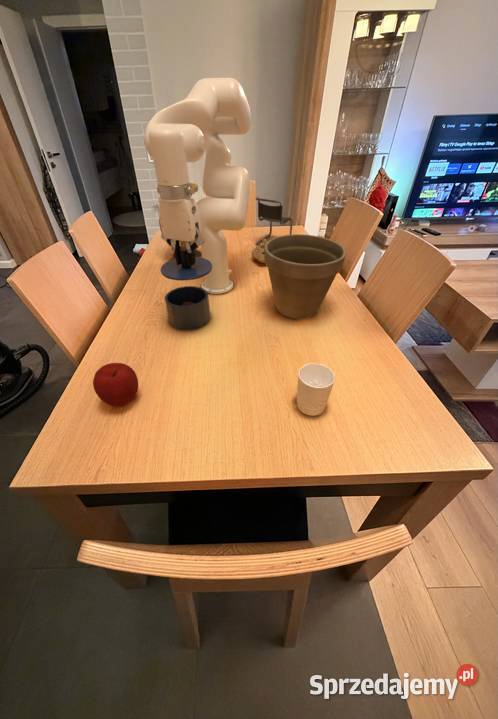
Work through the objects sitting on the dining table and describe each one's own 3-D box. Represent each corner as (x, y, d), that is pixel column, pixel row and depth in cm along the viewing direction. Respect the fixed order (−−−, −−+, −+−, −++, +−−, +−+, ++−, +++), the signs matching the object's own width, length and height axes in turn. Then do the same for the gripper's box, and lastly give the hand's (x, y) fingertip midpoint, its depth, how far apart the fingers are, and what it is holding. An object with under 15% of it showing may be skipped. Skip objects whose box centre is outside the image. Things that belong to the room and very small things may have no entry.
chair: (254, 245, 153) (254, 197, 139) (270, 235, 165) (271, 190, 150) (276, 249, 148) (279, 200, 134) (291, 239, 159) (295, 193, 145)
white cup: (291, 394, 75) (295, 364, 68) (322, 392, 75) (329, 362, 69) (297, 419, 69) (302, 389, 62) (331, 416, 69) (339, 386, 63)
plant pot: (349, 314, 102) (364, 252, 88) (291, 337, 93) (298, 270, 79) (302, 286, 119) (309, 229, 105) (249, 302, 109) (249, 242, 95)
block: (187, 312, 103) (185, 301, 100) (199, 315, 102) (197, 303, 99) (180, 319, 100) (178, 307, 97) (192, 322, 99) (190, 310, 96)
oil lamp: (253, 268, 132) (254, 250, 127) (250, 255, 143) (250, 238, 138) (278, 267, 133) (279, 249, 127) (272, 254, 144) (273, 237, 139)
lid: (179, 257, 93) (175, 236, 89) (221, 264, 89) (219, 243, 85) (150, 277, 83) (145, 254, 79) (196, 286, 79) (193, 263, 75)
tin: (183, 305, 108) (180, 283, 102) (217, 312, 104) (215, 290, 98) (161, 324, 98) (156, 301, 93) (197, 333, 94) (194, 310, 89)
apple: (121, 421, 69) (107, 391, 62) (94, 404, 72) (78, 374, 66) (151, 395, 75) (141, 365, 68) (124, 381, 78) (113, 351, 72)
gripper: (211, 190, 73) (217, 263, 85) (156, 185, 78) (169, 255, 90) (196, 198, 68) (205, 274, 80) (137, 192, 72) (154, 265, 85)
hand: (186, 263), depth 85 cm, fingers closed on lid, 2 cm apart
